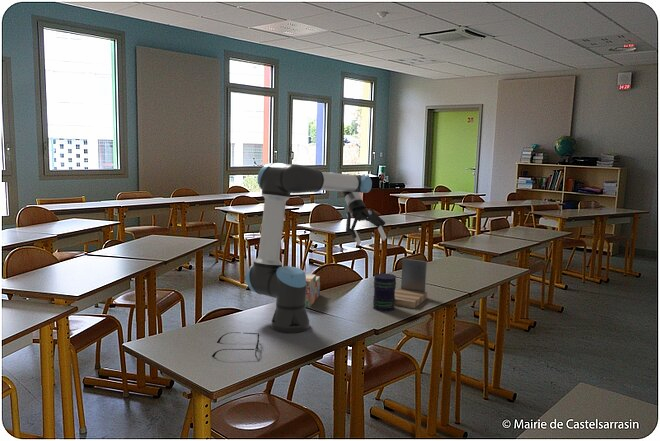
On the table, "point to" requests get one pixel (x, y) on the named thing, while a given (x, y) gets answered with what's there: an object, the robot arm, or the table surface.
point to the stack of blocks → (312, 289)
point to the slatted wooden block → (409, 298)
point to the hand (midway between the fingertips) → (372, 241)
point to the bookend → (414, 275)
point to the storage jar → (384, 292)
